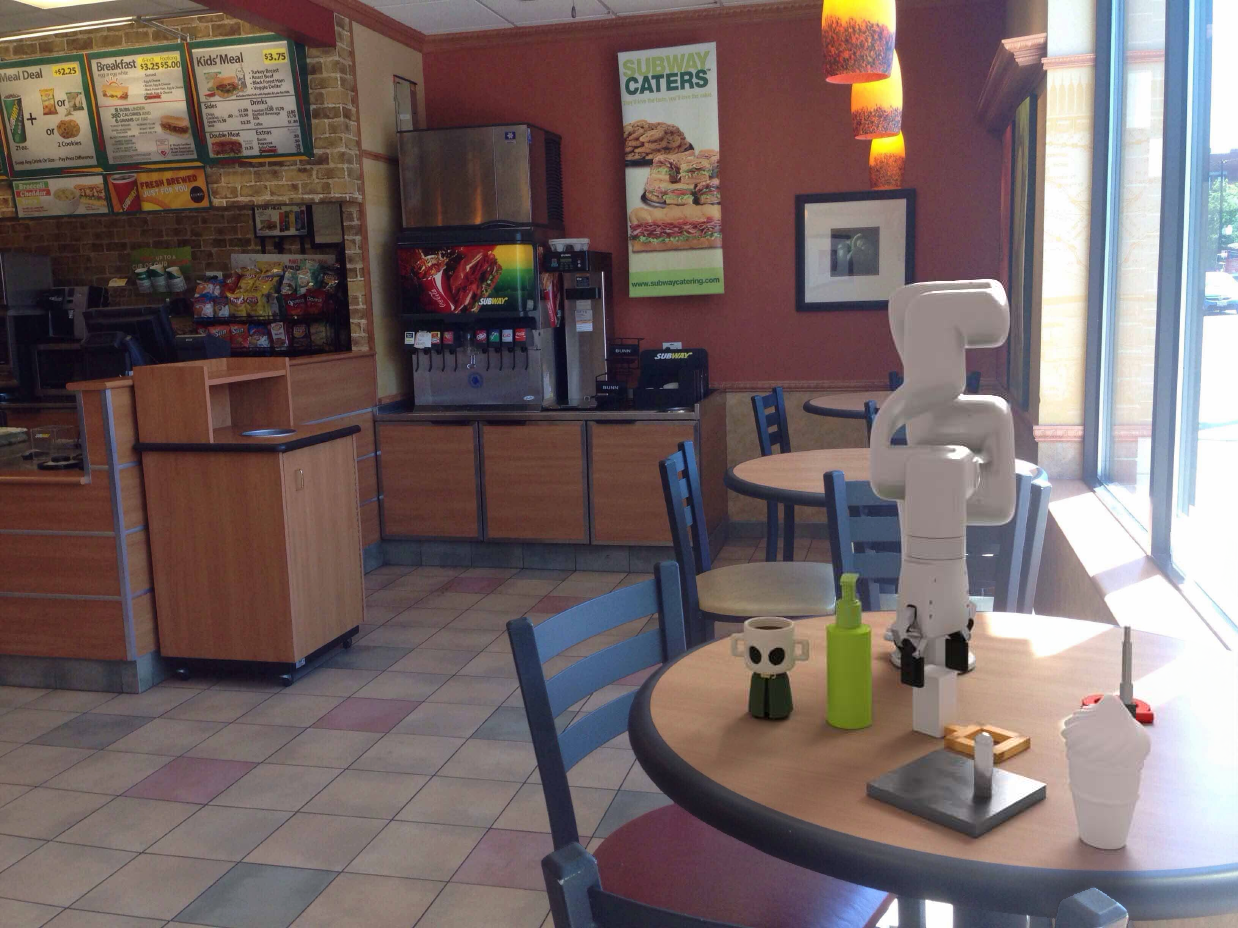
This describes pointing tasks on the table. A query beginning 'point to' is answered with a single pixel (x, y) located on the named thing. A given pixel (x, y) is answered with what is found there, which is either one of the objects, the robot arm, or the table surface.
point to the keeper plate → (958, 789)
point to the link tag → (940, 717)
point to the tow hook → (1127, 686)
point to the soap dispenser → (849, 662)
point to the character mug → (770, 663)
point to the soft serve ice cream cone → (1105, 769)
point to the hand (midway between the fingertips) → (935, 677)
